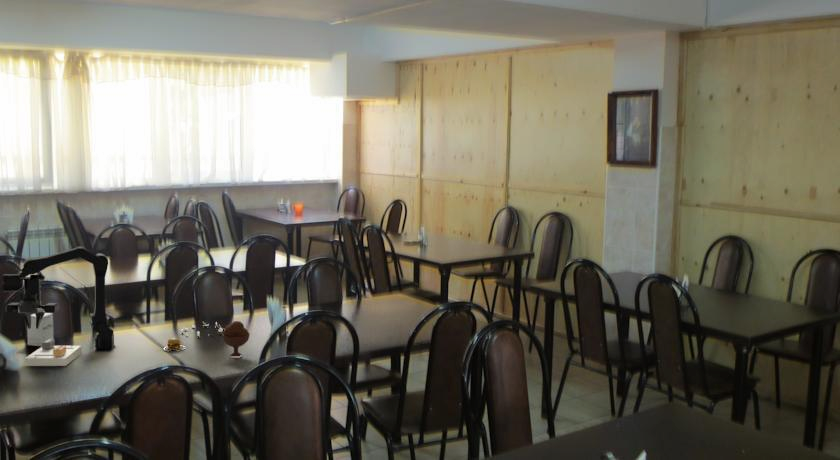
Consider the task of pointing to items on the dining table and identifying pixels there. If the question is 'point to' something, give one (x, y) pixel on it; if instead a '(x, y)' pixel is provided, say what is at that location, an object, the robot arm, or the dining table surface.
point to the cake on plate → (173, 344)
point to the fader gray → (48, 344)
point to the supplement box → (40, 330)
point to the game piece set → (198, 331)
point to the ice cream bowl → (235, 336)
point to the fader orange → (59, 351)
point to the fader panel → (52, 357)
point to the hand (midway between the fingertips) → (33, 328)
